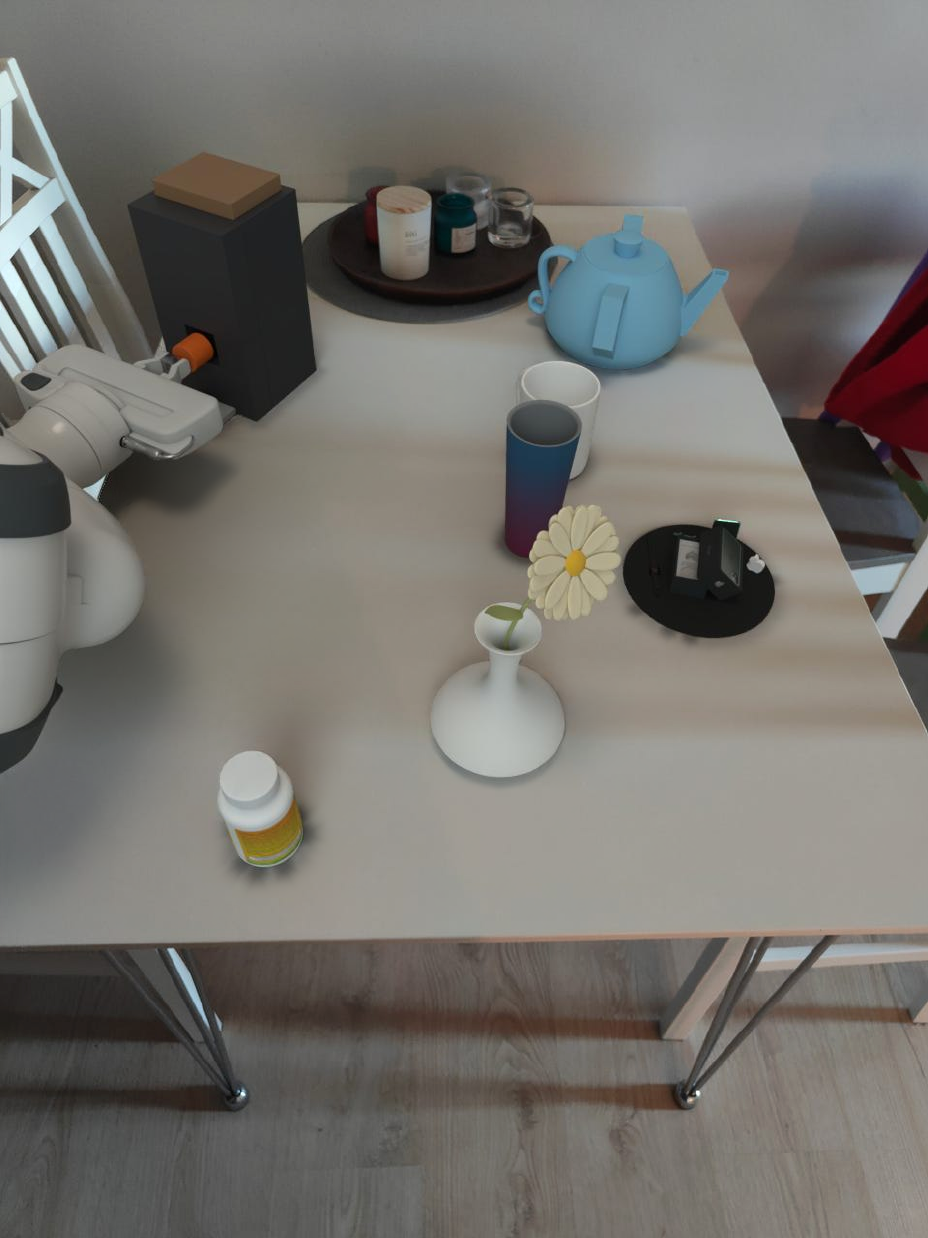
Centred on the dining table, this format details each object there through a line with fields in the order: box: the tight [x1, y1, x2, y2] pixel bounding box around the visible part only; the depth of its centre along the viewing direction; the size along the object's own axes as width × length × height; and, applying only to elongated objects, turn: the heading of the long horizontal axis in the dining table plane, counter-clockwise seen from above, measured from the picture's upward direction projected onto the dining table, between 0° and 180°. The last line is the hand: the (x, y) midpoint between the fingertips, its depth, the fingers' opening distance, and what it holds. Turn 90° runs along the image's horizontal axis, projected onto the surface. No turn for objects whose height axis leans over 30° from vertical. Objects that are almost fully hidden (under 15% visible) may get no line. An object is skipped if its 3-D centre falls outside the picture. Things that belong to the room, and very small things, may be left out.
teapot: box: [527, 213, 730, 370], centre depth 108 cm, size 19×19×14 cm
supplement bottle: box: [216, 750, 304, 868], centre depth 63 cm, size 5×5×10 cm
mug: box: [515, 360, 602, 481], centre depth 93 cm, size 12×8×10 cm
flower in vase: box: [429, 503, 622, 778], centre depth 64 cm, size 13×11×25 cm
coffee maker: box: [126, 151, 317, 425], centre depth 94 cm, size 16×12×24 cm
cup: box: [504, 400, 582, 559], centre depth 82 cm, size 7×7×15 cm
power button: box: [172, 333, 213, 372], centre depth 93 cm, size 3×3×3 cm
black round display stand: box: [622, 518, 776, 639], centre depth 83 cm, size 15×15×6 cm
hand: (179, 360), depth 92 cm, fingers closed
